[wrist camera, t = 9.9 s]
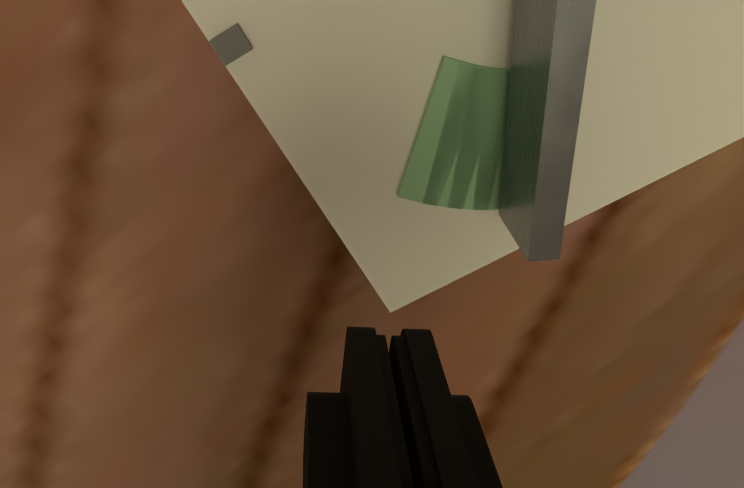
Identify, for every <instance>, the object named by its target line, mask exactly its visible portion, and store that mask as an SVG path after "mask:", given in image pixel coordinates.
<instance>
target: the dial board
mask: <svg viewBox="0 0 744 488" xmlns="http://www.w3.org/2000/svg"><path fill="white" fill-rule="evenodd" d="M181 1H182V2H183V4H184V5H185V7H186V8H187V10H188V11H189V13H190V14H191V16H192V17H193V19H194V20H195V22H196V23H197V25H198V26H199V28H200V29H201V31H202V32H203V34H204V35H205V37H206V38H207V40H208V41H209V43H210V44H211V46H212V47H213V49H214V50H215V52H216V53H217V55H218V56H219V58H220V59H221V60H222V62H223V63H224V65H225V66H226V68H227V69H228V71H229V72H230V74H231V75H232V77H233V78H234V80H235V81H236V83H237V84H238V86H239V87H240V89H241V90H242V92H243V93H244V95H245V96H246V98H247V99H248V101H249V102H250V104H251V105H252V107H253V108H254V110H255V111H256V113H257V114H258V116H259V117H260V119H261V120H262V122H263V123H264V125H265V126H266V128H267V129H268V131H269V132H270V134H271V135H272V137H273V138H274V140H275V141H276V143H277V144H278V146H279V147H280V149H281V150H282V152H283V153H284V155H285V156H286V158H287V159H288V161H289V162H290V164H291V165H292V167H293V168H294V170H295V171H296V173H297V174H298V176H299V177H300V179H301V180H302V182H303V183H304V185H305V186H306V188H307V189H308V190H309V192H310V193H311V195H312V196H313V198H314V199H315V201H316V202H317V204H318V205H319V207H320V208H321V210H322V211H323V213H324V214H325V216H326V217H327V219H328V220H329V222H330V223H331V225H332V226H333V228H334V229H335V231H336V232H337V234H338V235H339V237H340V238H341V240H342V241H343V243H344V244H345V246H346V247H347V249H348V250H349V252H350V253H351V255H352V256H353V258H354V259H355V261H356V262H357V264H358V265H359V267H360V268H361V270H362V271H363V273H364V274H365V276H366V277H367V279H368V280H369V282H370V283H371V285H372V286H373V288H374V289H375V291H376V292H377V294H378V295H379V297H380V298H381V300H382V301H383V303H384V304H385V306H386V307H387V309H388V310H389V312H390V313H391V312H393V311H395V310H397V309H399V308H401V307H403V306H405V305H407V304H409V303H411V302H413V301H415V300H417V299H419V298H421V297H423V296H425V295H427V294H429V293H431V292H433V291H435V290H437V289H439V288H441V287H443V286H445V285H447V284H449V283H451V282H453V281H455V280H457V279H459V278H461V277H463V276H465V275H467V274H469V273H471V272H473V271H475V270H477V269H479V268H481V267H483V266H485V265H487V264H489V263H491V262H493V261H495V260H497V259H499V258H501V257H503V256H505V255H507V254H509V253H511V252H513V251H515V250H517V249H519V246H518V245H517V243H516V242H515V240H514V238H513V237H512V235H511V234H510V232H509V230H508V229H507V227H506V226H505V224H504V222H503V221H502V219H501V218H500V216H499V214H498V212H499V199H500V187H501V175H502V162H503V150H504V138H505V126H506V113H507V101H508V89H509V76H510V64H511V52H512V40H513V27H514V15H515V3H516V0H181ZM742 137H744V0H596V6H595V13H594V20H593V27H592V34H591V41H590V48H589V55H588V62H587V69H586V76H585V83H584V90H583V97H582V104H581V111H580V118H579V125H578V132H577V139H576V146H575V153H574V160H573V167H572V174H571V181H570V187H569V194H568V201H567V208H566V215H565V222H564V226H566V225H568V224H570V223H572V222H574V221H576V220H578V219H580V218H582V217H584V216H586V215H588V214H590V213H592V212H594V211H596V210H598V209H600V208H602V207H604V206H606V205H608V204H610V203H612V202H614V201H616V200H618V199H620V198H622V197H624V196H626V195H628V194H630V193H632V192H634V191H636V190H638V189H640V188H642V187H644V186H646V185H648V184H650V183H652V182H654V181H656V180H658V179H660V178H662V177H664V176H666V175H668V174H670V173H672V172H674V171H676V170H678V169H680V168H682V167H684V166H686V165H688V164H690V163H692V162H694V161H696V160H698V159H700V158H702V157H704V156H706V155H708V154H710V153H712V152H714V151H716V150H718V149H720V148H722V147H724V146H726V145H728V144H730V143H732V142H734V141H736V140H738V139H740V138H742Z"/></svg>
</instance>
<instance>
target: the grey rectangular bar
mask: <svg viewBox="0 0 744 488" xmlns="http://www.w3.org/2000/svg"><path fill="white" fill-rule="evenodd" d="M595 6H596V0H516V3H515V15H514V27H513V40H512V52H511V64H510V76H509V89H508V101H507V113H506V126H505V138H504V150H503V162H502V175H501V187H500V199H499V212H498V214H499V216H500V218H501V219H502V221H503V222H504V224H505V226H506V227H507V229H508V230H509V232H510V234H511V235H512V237H513V238H514V240H515V242H516V243H517V245H518V246H519V248H520V250H521V251H522V253H523V254H524V256H525V258H526V259H527V261H539V260H552V259H559V257H560V250H561V243H562V236H563V229H564V222H565V215H566V208H567V201H568V194H569V187H570V181H571V174H572V167H573V160H574V153H575V146H576V139H577V132H578V125H579V118H580V111H581V104H582V97H583V90H584V83H585V76H586V69H587V62H588V55H589V48H590V41H591V34H592V27H593V20H594V13H595Z"/></svg>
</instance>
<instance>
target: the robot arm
mask: <svg viewBox="0 0 744 488" xmlns="http://www.w3.org/2000/svg"><path fill="white" fill-rule="evenodd" d="M303 488H502V485H501V482H500V479H499V476H498V473H497V471H496V468H495V465H494V462H493V459H492V456H491V454H490V451H489V448H488V445H487V442H486V439H485V437H484V434H483V431H482V428H481V425H480V422H479V420H478V417H477V414H476V411H475V408H474V405H473V403H472V401H471V399H470V397H468V396H467V395H451V394H450V391H449V387H448V384H447V381H446V378H445V375H444V371H443V368H442V365H441V362H440V359H439V355H438V352H437V349H436V346H435V342H434V339H433V336H432V333H431V331H430V330H424V329H403V330H402V331H401V335H400V336H392V338H391V342H390V349H389V353H388V347H387V342H386V337H385V335H376V330H375V328H368V327H347V331H346V340H345V349H344V359H343V368H342V377H341V387H340V393H324V392H308V393H307V402H306V415H305V430H304V452H303Z"/></svg>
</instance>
